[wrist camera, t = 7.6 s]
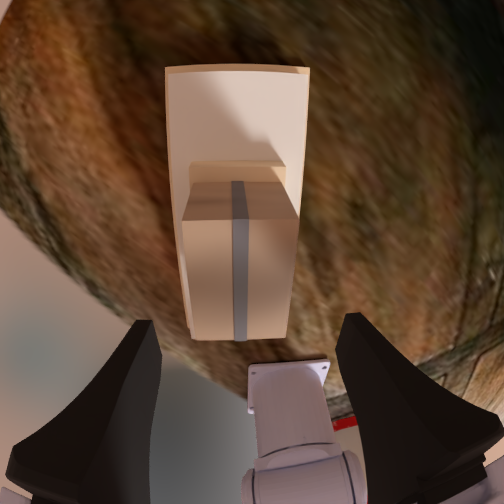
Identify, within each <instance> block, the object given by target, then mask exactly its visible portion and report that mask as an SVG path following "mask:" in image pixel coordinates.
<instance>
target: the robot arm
mask: <svg viewBox="0 0 504 504" xmlns="http://www.w3.org/2000/svg"><path fill="white" fill-rule="evenodd" d="M335 350H336V355H337V360H338V365H339V369H340V373H341V376H342V379H343V382H344V385H345V388H346V391H347V394H348V396H349V399H350V402H351V405H352V408H353V411H354V414H355V417H356V420H357V424H358V428H359V433H360V438H361V443H362V449H363V456H364V462H365V470H366V480H367V490H366V484H365V479H364V475H363V471H362V468H361V464H360V462H359V459H358V457H357V455H356V454H355V453H353V452H351V451H350V450H345V451H342V450H341V446H340V443H337V442H336V438H335V434H334V430H333V426H332V422H331V418H330V414H329V410H328V406H327V402H326V399H325V395H324V391H323V387H322V386H323V384H324V381H325V378H326V375H327V372H328V369H329V366H330V360H329V359H320V360H310V361H298V362H285V363H269V364H252V365H250V366H249V367H248V406H247V409H248V410H247V411H248V413H250V414H254V416H255V427H256V438H257V449H258V459H254V469H249V470H248V471H247V472H246V474H245V475H244V476H243V479H242V483H241V498H242V504H367V495H368V504H504V455H503V456H502V457H500V458H499V459H497V460H495V461H494V462H492V463H491V464H489V465H487V466H486V467H484V466H483V462H484V461H485V460H486V458H485V455H484V453H485V452H486V451H487V450H488V449H490V448H491V447H492V446H494V445H495V444H496V443H497V442H498V441H499V440H500V439H502V438H503V436H504V427H503V425H502V423H501V421H500V419H499V417H498V415H497V414H494V413H492V412H489V411H487V410H484V409H482V408H480V407H477V406H475V405H473V404H471V403H469V402H467V401H465V400H463V399H462V398H460V397H458V396H456V395H455V394H453V393H451V392H450V391H448V390H447V389H445V388H443V387H442V386H440V385H439V384H438V383H436V382H435V381H433V380H432V379H431V378H429V377H428V376H427V375H425V374H424V373H423V372H422V371H420V370H419V369H418V368H417V367H416V366H414V365H413V364H412V363H411V362H410V361H409V360H408V359H407V358H405V357H404V356H403V355H402V354H401V353H400V352H399V351H398V350H397V349H396V348H395V347H394V346H393V345H392V344H391V343H390V342H389V341H388V340H387V339H386V338H385V337H384V336H383V335H382V334H381V333H380V332H379V331H378V330H377V329H376V328H375V327H374V326H373V325H372V324H371V323H370V322H369V321H368V320H367V319H366V318H365V317H364V316H363V315H362V314H361V313H360V312H358V313H347V314H346V315H345V318H344V322H343V325H342V329H341V332H340V335H339V339H338V342H337V345H336V348H335ZM161 364H162V354H161V350H160V347H159V343H158V339H157V336H156V332H155V328H154V325H153V321H152V320H136V321H135V322H134V324H133V325H132V327H131V328H130V329H129V331H128V332H127V334H126V335H125V337H124V338H123V340H122V341H121V343H120V344H119V345H118V347H117V348H116V350H115V351H114V352H113V354H112V355H111V356H110V358H109V359H108V361H107V362H106V363H105V365H104V366H103V367H102V368H101V370H100V371H99V372H98V373H97V375H96V376H95V377H94V378H93V380H92V381H91V382H90V383H89V384H88V385H87V386H86V387H85V389H84V390H83V391H82V392H81V393H80V394H79V395H78V396H77V397H76V398H75V399H74V400H73V401H72V402H71V403H70V404H69V405H68V406H67V407H66V408H65V409H64V410H63V411H62V412H61V413H59V414H58V415H57V416H56V417H55V418H53V419H52V420H51V421H50V422H48V423H47V424H46V425H45V426H43V427H42V428H41V429H39V430H38V431H36V432H35V433H34V434H32V435H30V436H29V437H27V438H26V439H24V440H22V441H21V442H19V443H18V444H16V445H14V446H13V448H12V452H11V455H10V458H9V462H8V466H7V470H6V474H5V475H6V477H7V479H9V480H10V481H12V482H13V483H14V484H16V485H18V486H20V487H21V488H23V489H24V490H26V491H28V492H30V493H31V494H33V496H32V500H31V499H29V498H26V497H24V496H22V495H20V494H18V493H15V492H14V491H11V490H9V489H7V488H5V487H2V488H1V493H0V504H150V487H149V452H150V435H151V426H152V421H153V416H154V410H155V405H156V400H157V394H158V389H159V384H160V377H161Z"/></svg>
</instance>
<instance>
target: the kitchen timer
mask: <svg viewBox="0 0 504 504" xmlns="http://www.w3.org/2000/svg"><path fill="white" fill-rule="evenodd" d="M332 426H333V430H334V434H335V438H336V442H337V443H340V446H341V450H342V451H345V450H350V451H351V452H353V453H355V454H356V455H357V457H358V459H359V462H360V464H361V468H362V471H363V475H364V479H365V484H366V490H367V480H366V470H365V462H364V456H363V449H362V443H361V438H360V433H359V428H358V424H357V420H356V417H355V416H353V417H349V418H345V419H341V420H337V421H335V422H332ZM367 504H368V495H367Z"/></svg>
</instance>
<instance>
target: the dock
mask: <svg viewBox="0 0 504 504" xmlns="http://www.w3.org/2000/svg"><path fill="white" fill-rule="evenodd" d="M309 76H310V68H307V67H296V66H283V65H265V64H204V65H186V66H173V67H165V97H166V126H167V146H168V162H169V176H170V189H171V201H172V211H173V221H174V231H175V240H176V249H177V257H178V265H179V273H180V280H181V287H182V294H183V301H184V308H185V314H186V320H187V326H188V328H190V332H191V338H192V339H196V338H195V331H194V324H193V317H192V310H191V303H190V295H189V287H188V279H187V270H186V262H185V252H184V243H183V233H182V222H181V221H182V217H183V214H184V211H185V208H186V204H187V201H188V198H189V195H190V184H189V166H190V164H191V162H193V161H237V160H258V161H283V163H284V164H285V166H286V179H285V190H286V192H287V194H288V196H289V198H290V200H291V203H292V205H293V207H294V209H295V211H296V213H297V215H298V217H299V214H300V203H301V192H302V181H303V169H304V156H305V143H306V129H307V113H308V96H309Z"/></svg>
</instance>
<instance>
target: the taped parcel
mask: <svg viewBox="0 0 504 504" xmlns="http://www.w3.org/2000/svg"><path fill="white" fill-rule="evenodd" d="M285 179H286V166H285V164H284V163H283V161H258V160H237V161H193V162H191V164H190V166H189V184H190V195H189V198H188V201H187V204H186V208H185V211H184V214H183V217H182V221H181V222H182V233H183V243H184V252H185V262H186V270H187V279H188V287H189V295H190V303H191V310H192V317H193V324H194V331H195V338H196V340H235V341H247V339H270V338H285V336H286V329H287V322H288V315H289V307H290V299H291V291H292V283H293V275H294V267H295V258H296V249H297V240H298V230H299V221H300V219H299V217H298V215H297V213H296V211H295V209H294V207H293V205H292V203H291V200H290V198H289V196H288V194H287V192H286V190H285Z"/></svg>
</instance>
